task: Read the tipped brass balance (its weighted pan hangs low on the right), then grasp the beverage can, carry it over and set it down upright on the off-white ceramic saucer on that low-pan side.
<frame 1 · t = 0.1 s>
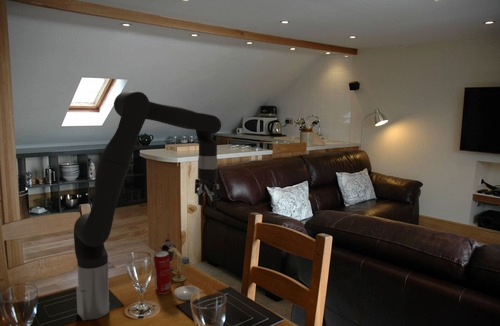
hand: (207, 207, 156), 29 cm above the table, fingers open, 8 cm apart
beverage can: (162, 291, 147), on the table
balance: (179, 279, 157), on the table
saucer: (187, 294, 145), on the table
sundae: (167, 270, 166), on the table
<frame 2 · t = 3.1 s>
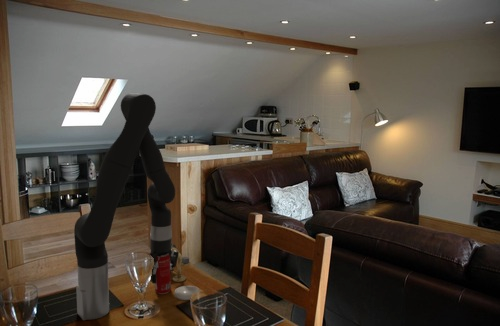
hand: (160, 280, 146), 4 cm above the table, fingers open, 5 cm apart
beverage can: (162, 291, 147), on the table, touching gripper
everything else where it was.
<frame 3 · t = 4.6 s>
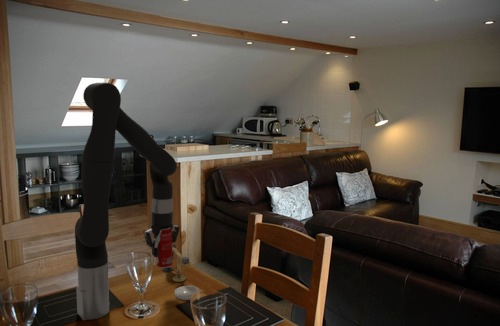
hand: (161, 255, 145), 14 cm above the table, fingers closed on beverage can, 4 cm apart
beverage can: (163, 266, 146), point 10 cm above the table, touching gripper
everything else where it was.
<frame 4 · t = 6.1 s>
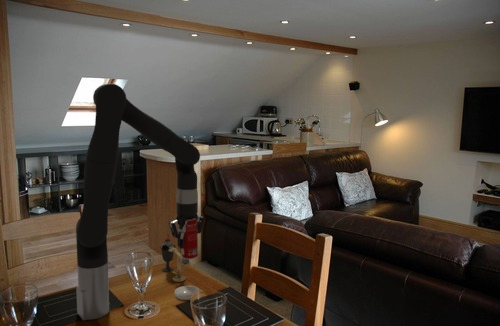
hand: (187, 246, 142), 18 cm above the table, fingers closed on beverage can, 4 cm apart
beverage can: (189, 257, 144), point 14 cm above the table, touching gripper
everything else where it was.
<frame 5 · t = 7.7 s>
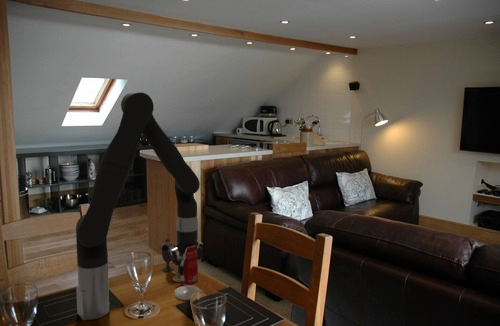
hand: (187, 272, 144), 8 cm above the table, fingers closed on beverage can, 4 cm apart
beverage can: (189, 283, 145), point 4 cm above the table, touching gripper
everything else where it was.
when the fingers open (7 cm above the table, at t = 8.8 s): beverage can drops 1 cm, resting on saucer.
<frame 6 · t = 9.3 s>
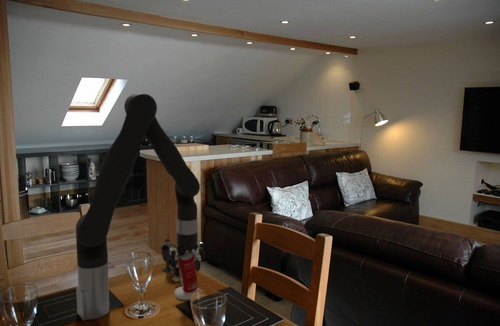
hand: (187, 273, 144), 8 cm above the table, fingers open, 8 cm apart
beverage can: (189, 289, 145), point 2 cm above the table, touching saucer
everything else where it was.
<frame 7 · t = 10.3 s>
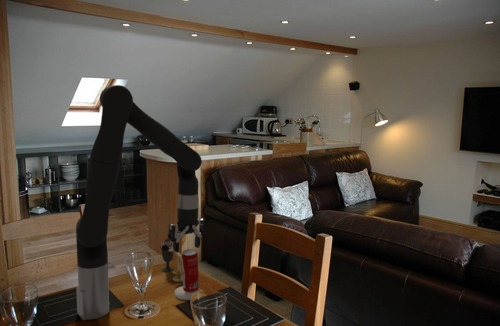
hand: (187, 249, 143), 17 cm above the table, fingers open, 8 cm apart
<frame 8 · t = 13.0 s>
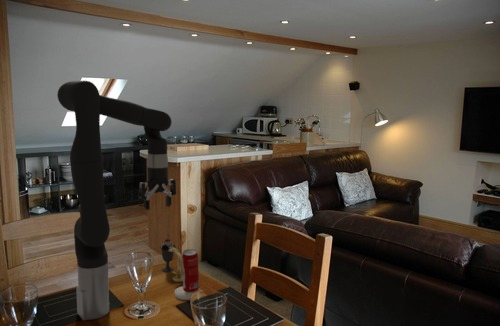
hand: (157, 207, 149), 30 cm above the table, fingers open, 8 cm apart
at the end: beverage can 1.4 cm from the saucer (horizontally); beverage can tilted 0°; beverage can touching saucer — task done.
